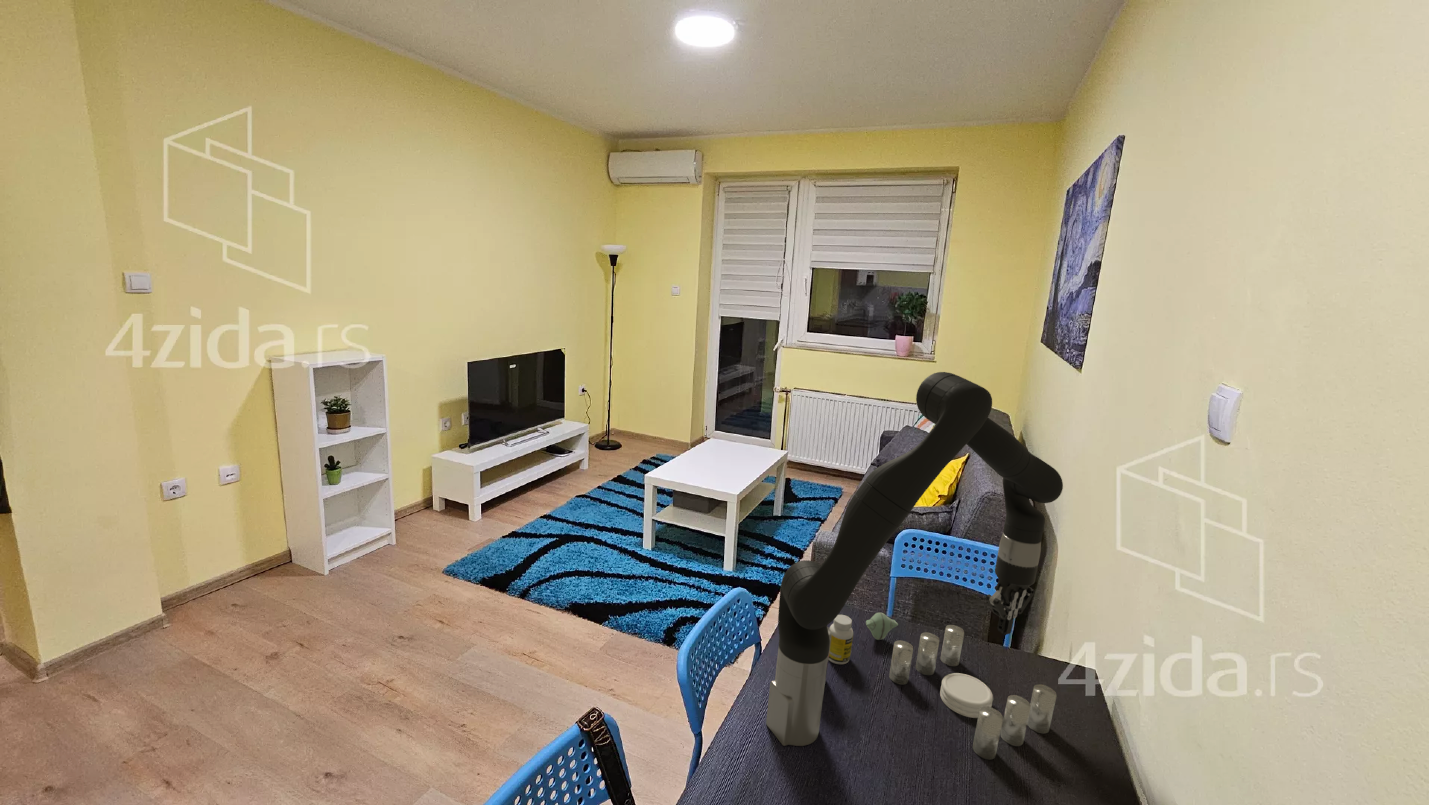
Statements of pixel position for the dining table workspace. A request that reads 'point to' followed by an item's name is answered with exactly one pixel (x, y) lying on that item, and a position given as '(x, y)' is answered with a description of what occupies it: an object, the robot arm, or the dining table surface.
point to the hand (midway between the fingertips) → (1003, 632)
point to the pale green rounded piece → (880, 625)
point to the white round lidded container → (965, 694)
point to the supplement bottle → (841, 640)
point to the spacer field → (989, 718)
